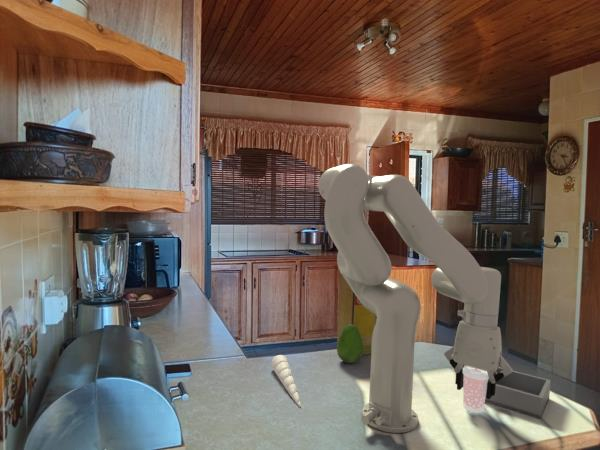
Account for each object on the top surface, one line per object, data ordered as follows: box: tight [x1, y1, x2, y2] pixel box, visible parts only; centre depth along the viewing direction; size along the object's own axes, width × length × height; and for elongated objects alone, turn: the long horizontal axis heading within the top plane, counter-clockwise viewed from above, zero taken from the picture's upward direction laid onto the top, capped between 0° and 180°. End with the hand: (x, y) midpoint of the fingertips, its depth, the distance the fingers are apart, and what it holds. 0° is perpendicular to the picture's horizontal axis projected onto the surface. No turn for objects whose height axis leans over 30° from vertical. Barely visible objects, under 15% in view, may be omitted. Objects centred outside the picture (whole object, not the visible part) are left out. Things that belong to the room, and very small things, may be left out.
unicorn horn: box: [270, 354, 302, 408], centre depth 109 cm, size 5×24×5 cm, turn 12°
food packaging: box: [336, 273, 377, 356], centre depth 139 cm, size 13×9×25 cm
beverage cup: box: [462, 366, 489, 414], centre depth 99 cm, size 6×6×14 cm
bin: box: [485, 366, 551, 420], centre depth 106 cm, size 14×14×5 cm
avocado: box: [336, 324, 363, 364], centre depth 127 cm, size 8×8×12 cm
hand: (474, 392), depth 99 cm, fingers closed on beverage cup, 6 cm apart
